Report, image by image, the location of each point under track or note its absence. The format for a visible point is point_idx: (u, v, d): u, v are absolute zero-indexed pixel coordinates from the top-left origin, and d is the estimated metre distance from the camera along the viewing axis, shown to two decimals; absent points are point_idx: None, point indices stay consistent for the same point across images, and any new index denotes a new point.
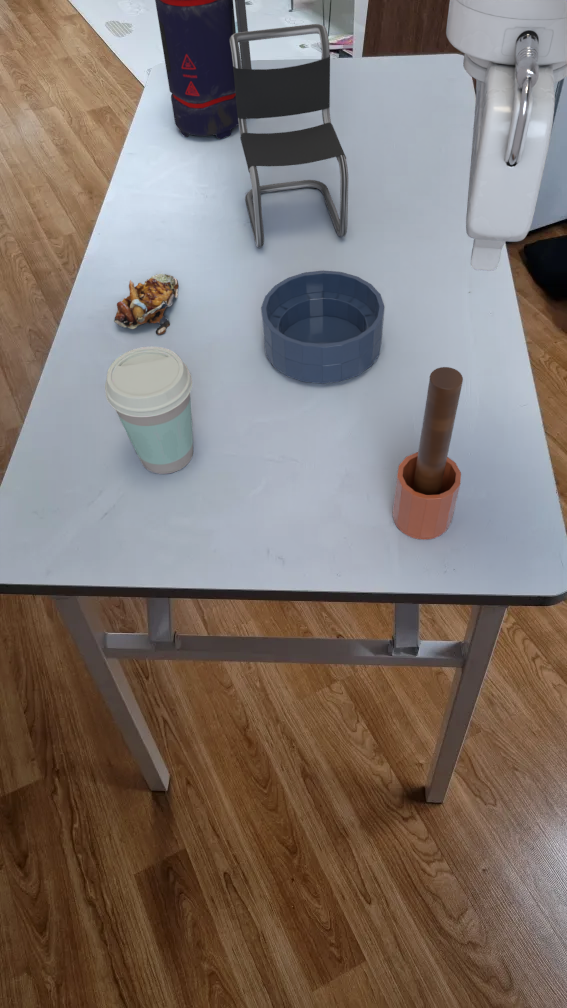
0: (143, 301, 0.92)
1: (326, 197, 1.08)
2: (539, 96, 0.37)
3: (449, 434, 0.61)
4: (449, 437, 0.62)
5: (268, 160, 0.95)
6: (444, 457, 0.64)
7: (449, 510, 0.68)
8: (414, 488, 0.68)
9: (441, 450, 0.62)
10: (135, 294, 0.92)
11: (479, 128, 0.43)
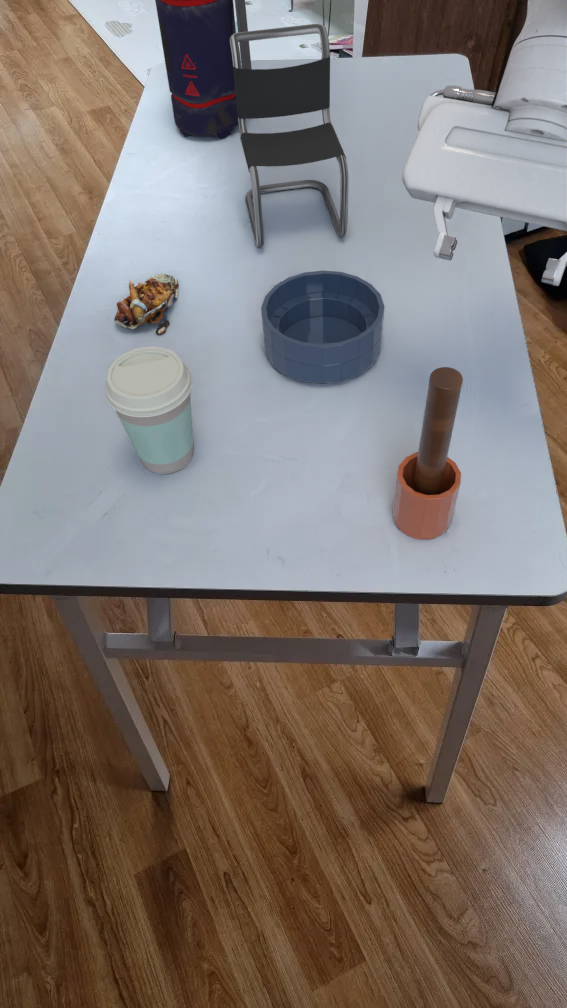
0: (143, 301, 0.92)
1: (326, 197, 1.08)
2: None
3: (449, 434, 0.61)
4: (449, 437, 0.62)
5: (268, 160, 0.95)
6: (444, 457, 0.64)
7: (449, 510, 0.68)
8: (414, 488, 0.68)
9: (441, 450, 0.62)
10: (135, 294, 0.92)
11: None
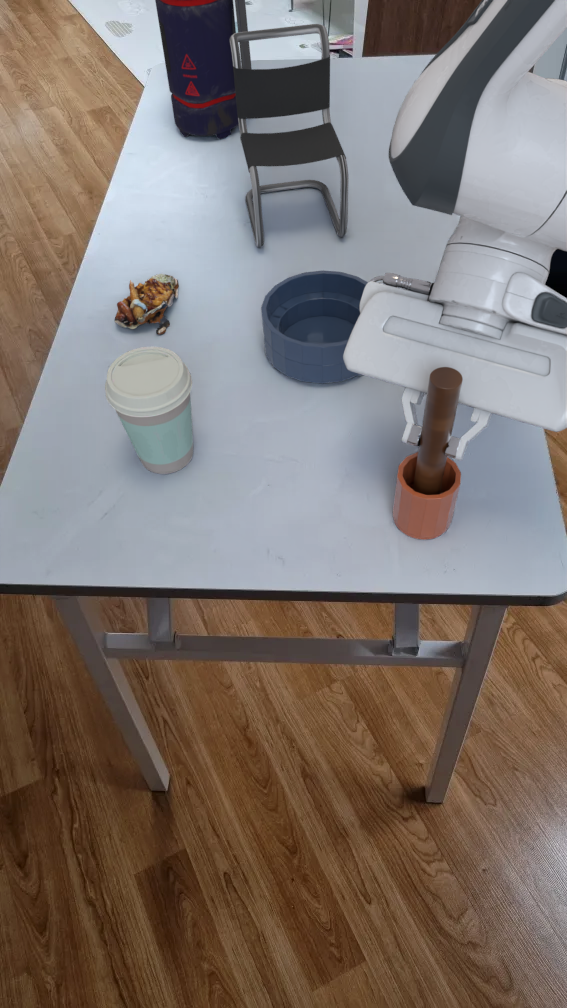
0: (143, 301, 0.92)
1: (326, 197, 1.08)
2: None
3: (449, 434, 0.61)
4: (449, 437, 0.62)
5: (268, 160, 0.95)
6: (444, 457, 0.64)
7: (449, 510, 0.68)
8: (414, 488, 0.68)
9: (440, 450, 0.62)
10: (135, 294, 0.92)
11: None
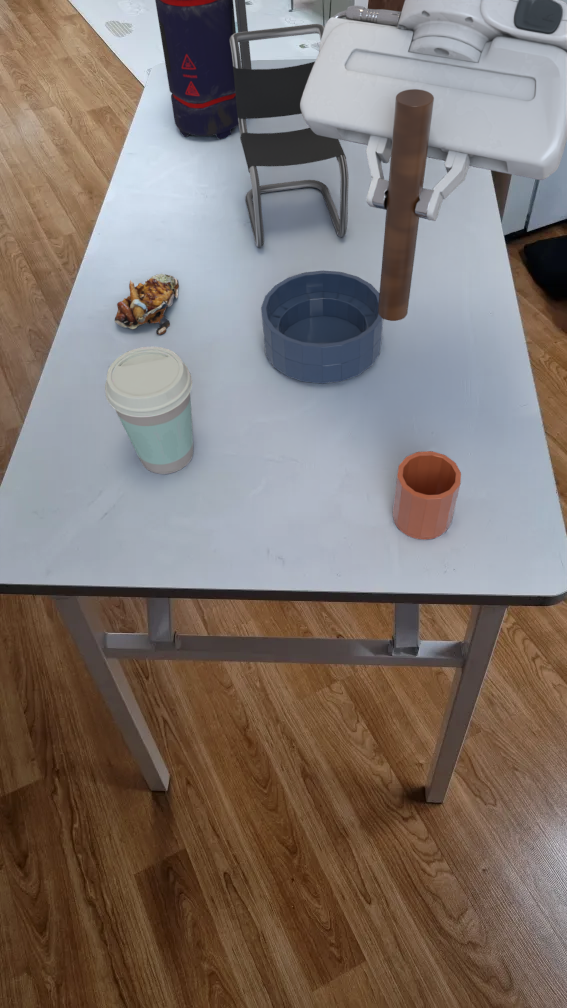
0: (143, 301, 0.92)
1: (326, 197, 1.08)
2: None
3: (419, 182, 0.53)
4: (419, 188, 0.54)
5: (268, 160, 0.95)
6: (415, 219, 0.56)
7: (449, 510, 0.68)
8: (382, 271, 0.60)
9: (410, 206, 0.54)
10: (135, 294, 0.92)
11: None
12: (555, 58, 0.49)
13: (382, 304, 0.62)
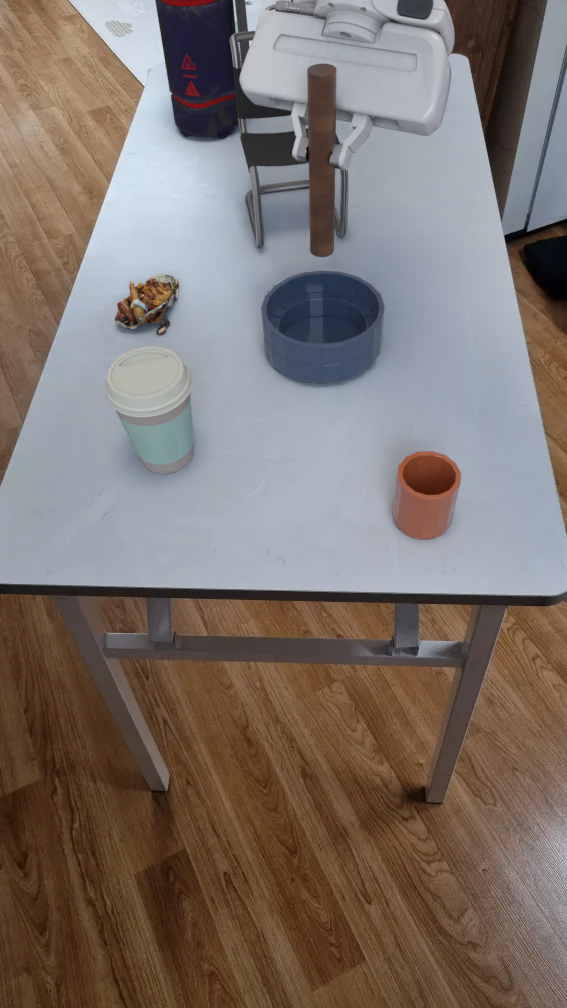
0: (143, 301, 0.92)
1: None
2: None
3: (331, 138, 0.67)
4: (332, 143, 0.68)
5: (268, 160, 0.95)
6: (330, 169, 0.70)
7: (449, 510, 0.68)
8: (310, 215, 0.74)
9: (325, 157, 0.69)
10: (135, 294, 0.92)
11: None
12: (429, 38, 0.63)
13: (312, 243, 0.76)
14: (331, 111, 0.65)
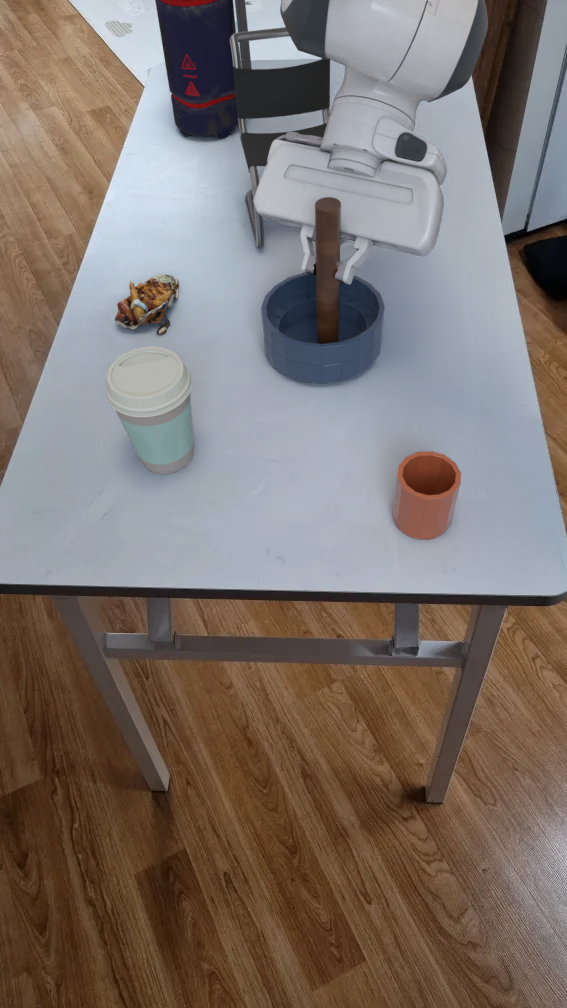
0: (144, 301, 0.92)
1: None
2: None
3: (336, 259, 0.75)
4: (337, 262, 0.76)
5: None
6: (335, 283, 0.78)
7: (449, 510, 0.68)
8: (317, 318, 0.82)
9: (331, 274, 0.76)
10: (136, 294, 0.92)
11: None
12: (424, 177, 0.71)
13: (318, 341, 0.84)
14: (336, 237, 0.73)
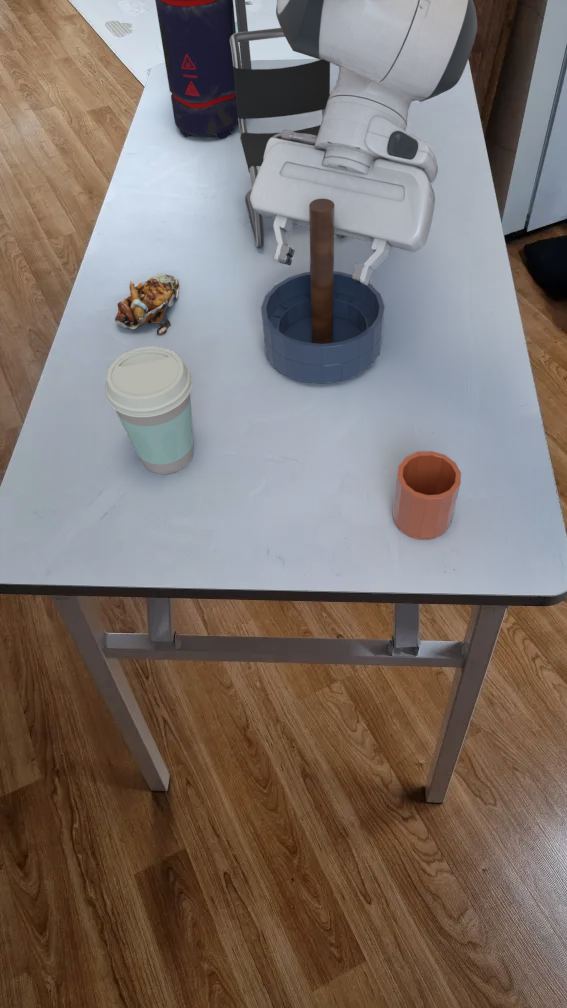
0: (144, 301, 0.92)
1: None
2: None
3: (330, 258, 0.78)
4: (330, 261, 0.78)
5: None
6: (329, 281, 0.80)
7: (449, 510, 0.68)
8: (311, 316, 0.84)
9: (325, 273, 0.79)
10: (136, 294, 0.92)
11: None
12: (415, 174, 0.73)
13: (313, 338, 0.87)
14: (330, 237, 0.76)
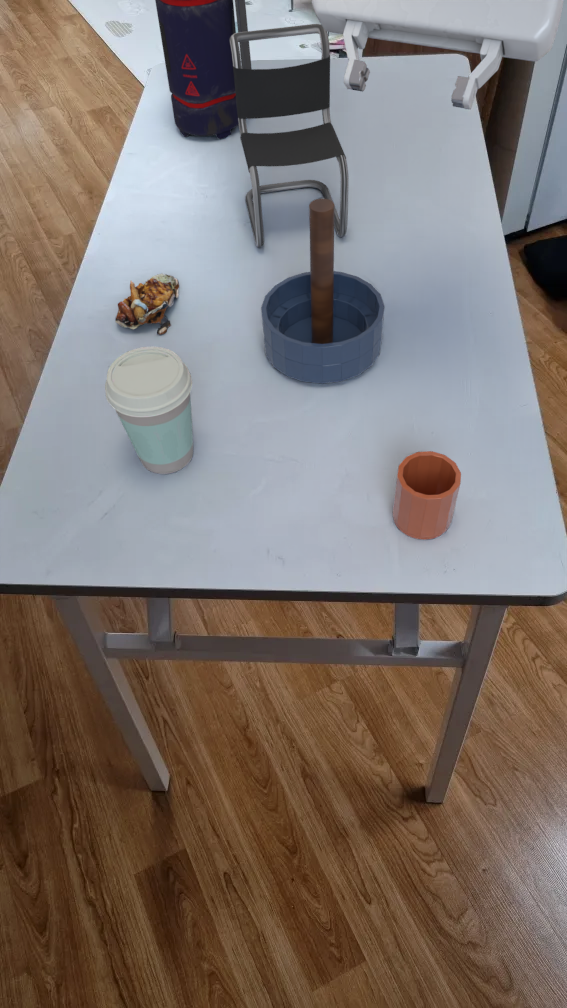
0: (144, 301, 0.92)
1: (326, 197, 1.08)
2: None
3: (330, 258, 0.78)
4: (330, 261, 0.78)
5: (268, 160, 0.95)
6: (329, 281, 0.80)
7: (449, 510, 0.68)
8: (311, 316, 0.84)
9: (325, 273, 0.79)
10: (136, 294, 0.92)
11: None
12: None
13: (313, 338, 0.87)
14: (330, 237, 0.76)
